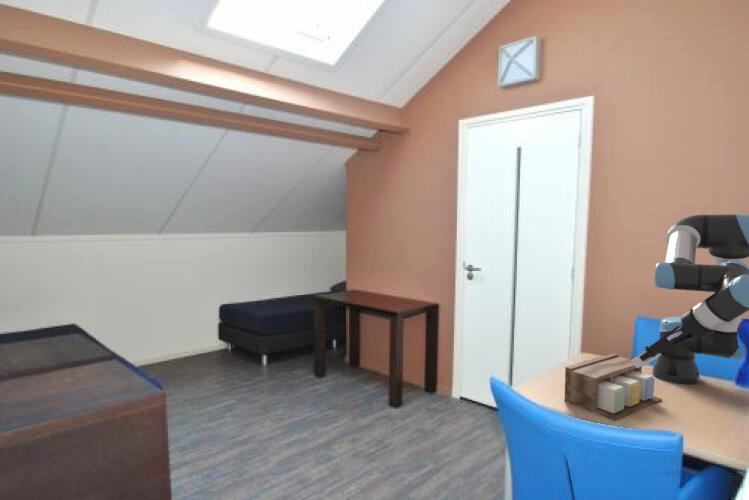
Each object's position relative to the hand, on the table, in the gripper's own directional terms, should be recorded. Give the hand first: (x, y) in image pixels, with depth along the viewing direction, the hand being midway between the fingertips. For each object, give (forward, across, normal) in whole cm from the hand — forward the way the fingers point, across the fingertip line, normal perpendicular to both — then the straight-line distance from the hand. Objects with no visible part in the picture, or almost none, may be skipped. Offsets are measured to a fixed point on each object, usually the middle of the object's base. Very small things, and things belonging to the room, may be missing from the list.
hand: (637, 362), depth 137 cm
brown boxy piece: (+21, +9, -5) cm, 23 cm away
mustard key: (+18, +9, -6) cm, 21 cm away
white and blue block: (+18, +18, -6) cm, 26 cm away
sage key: (+18, 0, -6) cm, 19 cm away
